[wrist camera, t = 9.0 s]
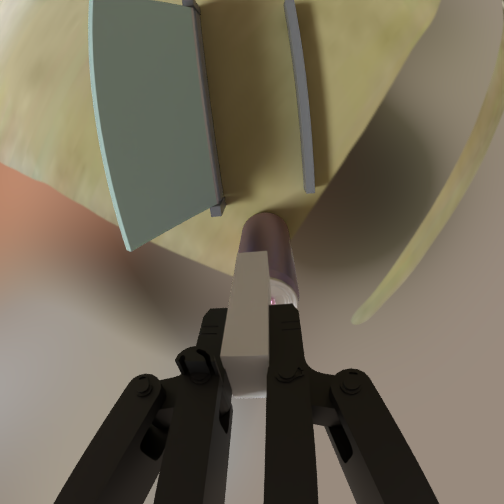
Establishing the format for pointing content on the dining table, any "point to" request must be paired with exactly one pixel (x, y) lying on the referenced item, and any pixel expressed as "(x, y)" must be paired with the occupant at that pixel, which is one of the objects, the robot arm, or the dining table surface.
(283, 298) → the beverage can
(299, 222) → the dining table surface
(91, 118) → the dining table surface
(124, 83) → the cover
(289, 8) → the plastic rails
